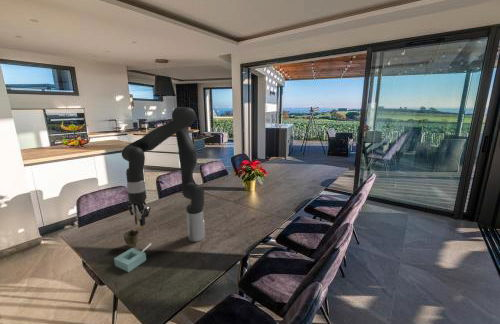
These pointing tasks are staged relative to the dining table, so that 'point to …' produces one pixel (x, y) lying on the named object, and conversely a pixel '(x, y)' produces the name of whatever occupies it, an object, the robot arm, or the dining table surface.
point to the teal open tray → (130, 259)
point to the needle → (140, 228)
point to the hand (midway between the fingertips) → (140, 224)
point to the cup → (131, 238)
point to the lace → (146, 247)
